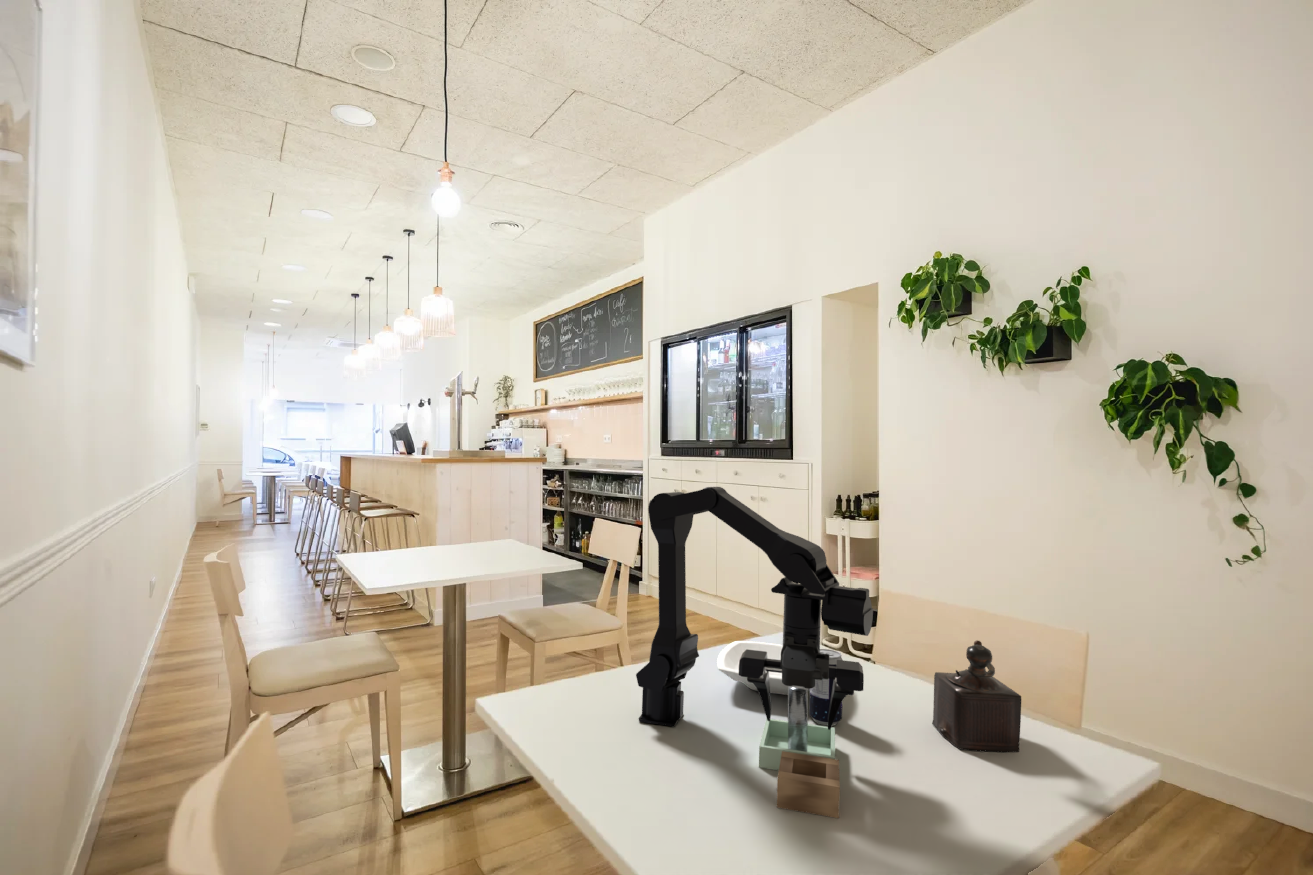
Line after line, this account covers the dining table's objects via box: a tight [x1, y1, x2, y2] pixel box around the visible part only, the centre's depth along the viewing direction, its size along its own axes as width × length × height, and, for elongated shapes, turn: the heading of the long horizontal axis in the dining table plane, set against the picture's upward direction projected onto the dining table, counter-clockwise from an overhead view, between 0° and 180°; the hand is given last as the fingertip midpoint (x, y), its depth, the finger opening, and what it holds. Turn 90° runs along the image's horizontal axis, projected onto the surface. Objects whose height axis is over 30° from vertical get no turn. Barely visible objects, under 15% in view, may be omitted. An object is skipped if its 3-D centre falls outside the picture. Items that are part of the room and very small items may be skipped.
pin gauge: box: [787, 686, 809, 752], centre depth 102 cm, size 3×3×10 cm
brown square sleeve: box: [776, 751, 841, 819], centre depth 90 cm, size 8×8×4 cm
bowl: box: [716, 640, 810, 696], centre depth 132 cm, size 22×23×6 cm
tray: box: [758, 717, 836, 771], centre depth 102 cm, size 11×11×3 cm
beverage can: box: [808, 648, 843, 727], centre depth 116 cm, size 6×6×12 cm
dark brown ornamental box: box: [931, 639, 1022, 753], centre depth 109 cm, size 16×11×18 cm
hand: (798, 724), depth 102 cm, fingers open, 9 cm apart
